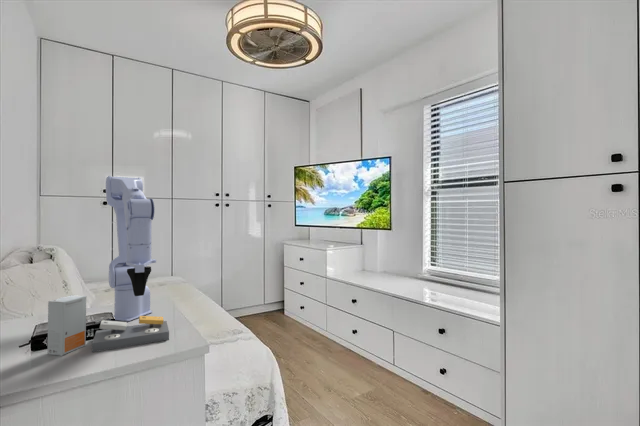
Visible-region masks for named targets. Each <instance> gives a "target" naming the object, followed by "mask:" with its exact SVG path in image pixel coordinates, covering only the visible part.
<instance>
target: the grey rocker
mask: <svg viewBox="0 0 640 426" xmlns="http://www.w3.org/2000/svg"><path fill="white" fill-rule="evenodd" d="M127 322H128V321H119V320H106V319H105V320H104V319H103V320H101V322H100V325H99V329H100V330H105V329H114V330H126V327H127V326H128V323H127Z"/></svg>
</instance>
